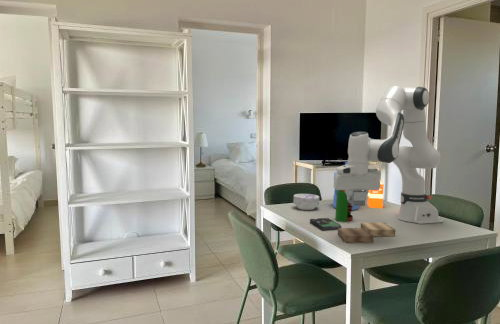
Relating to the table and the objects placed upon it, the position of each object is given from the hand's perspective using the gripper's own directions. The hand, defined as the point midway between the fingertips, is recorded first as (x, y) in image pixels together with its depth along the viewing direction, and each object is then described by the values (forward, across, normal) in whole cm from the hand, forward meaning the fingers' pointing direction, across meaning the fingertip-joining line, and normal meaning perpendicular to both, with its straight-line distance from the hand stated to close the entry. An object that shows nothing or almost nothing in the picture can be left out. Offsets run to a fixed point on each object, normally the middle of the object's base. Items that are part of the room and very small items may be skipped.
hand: (356, 199), depth 167 cm
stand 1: (+18, 0, 0) cm, 18 cm away
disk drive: (+18, +8, -20) cm, 28 cm away
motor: (+18, -5, -32) cm, 37 cm away
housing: (+2, 0, 0) cm, 2 cm away
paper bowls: (+18, +10, -58) cm, 61 cm away
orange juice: (+18, -34, -63) cm, 74 cm away
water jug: (+18, -15, -60) cm, 64 cm away
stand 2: (+18, -14, -9) cm, 24 cm away
